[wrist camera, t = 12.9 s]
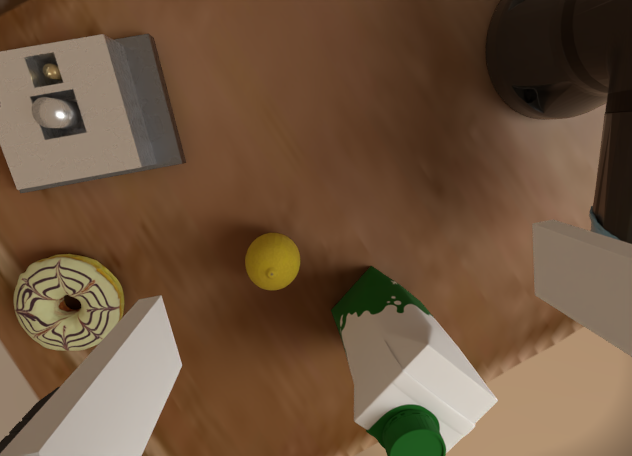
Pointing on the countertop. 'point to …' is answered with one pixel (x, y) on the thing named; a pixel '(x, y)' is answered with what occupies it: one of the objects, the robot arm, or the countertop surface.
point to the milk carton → (406, 370)
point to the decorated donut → (51, 311)
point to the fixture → (150, 99)
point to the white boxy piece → (94, 103)
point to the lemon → (272, 261)
